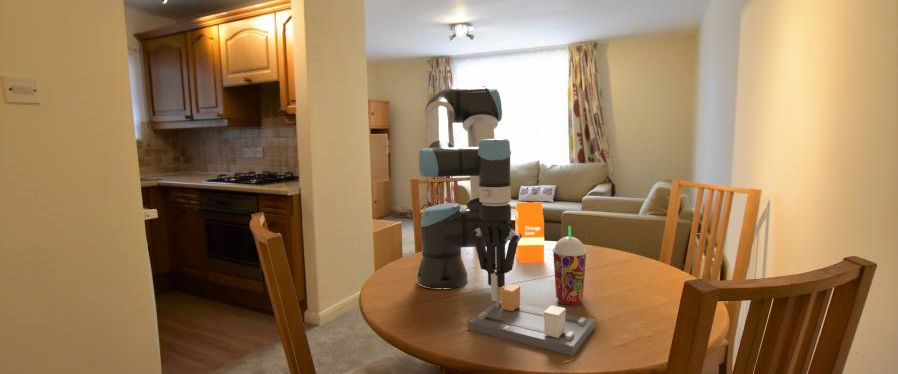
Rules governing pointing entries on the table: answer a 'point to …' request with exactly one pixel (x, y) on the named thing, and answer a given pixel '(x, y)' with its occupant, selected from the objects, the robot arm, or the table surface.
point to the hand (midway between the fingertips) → (496, 298)
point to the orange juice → (530, 232)
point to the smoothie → (569, 269)
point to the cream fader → (554, 321)
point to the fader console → (532, 327)
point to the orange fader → (510, 297)
